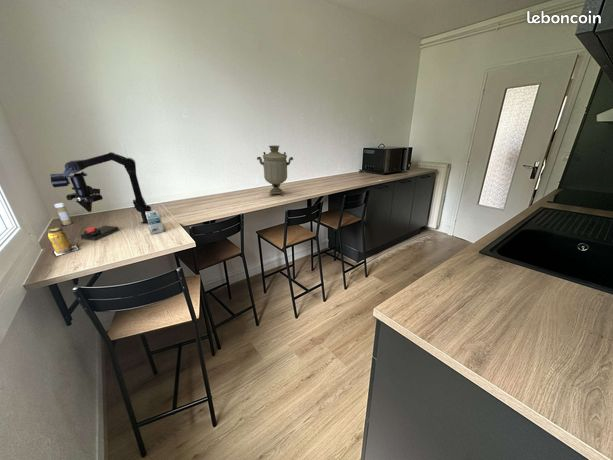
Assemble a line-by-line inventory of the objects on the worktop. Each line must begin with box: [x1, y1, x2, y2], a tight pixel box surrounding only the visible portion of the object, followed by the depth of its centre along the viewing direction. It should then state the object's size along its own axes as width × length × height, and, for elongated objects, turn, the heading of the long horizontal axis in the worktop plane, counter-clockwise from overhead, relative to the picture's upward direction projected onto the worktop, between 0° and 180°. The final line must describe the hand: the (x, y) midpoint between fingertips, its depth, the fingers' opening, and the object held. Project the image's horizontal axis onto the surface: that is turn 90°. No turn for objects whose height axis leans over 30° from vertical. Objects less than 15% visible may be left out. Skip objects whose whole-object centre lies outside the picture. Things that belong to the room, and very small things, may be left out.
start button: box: [85, 226, 97, 233], centre depth 138 cm, size 4×4×2 cm
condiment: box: [47, 227, 79, 257], centre depth 123 cm, size 7×8×12 cm
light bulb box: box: [145, 209, 165, 235], centre depth 146 cm, size 11×7×11 cm, turn 35°
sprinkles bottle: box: [53, 202, 73, 226], centre depth 155 cm, size 5×5×13 cm
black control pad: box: [79, 225, 120, 241], centre depth 142 cm, size 10×14×4 cm
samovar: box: [256, 144, 294, 197], centre depth 213 cm, size 30×26×40 cm
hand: (90, 211), depth 143 cm, fingers closed
